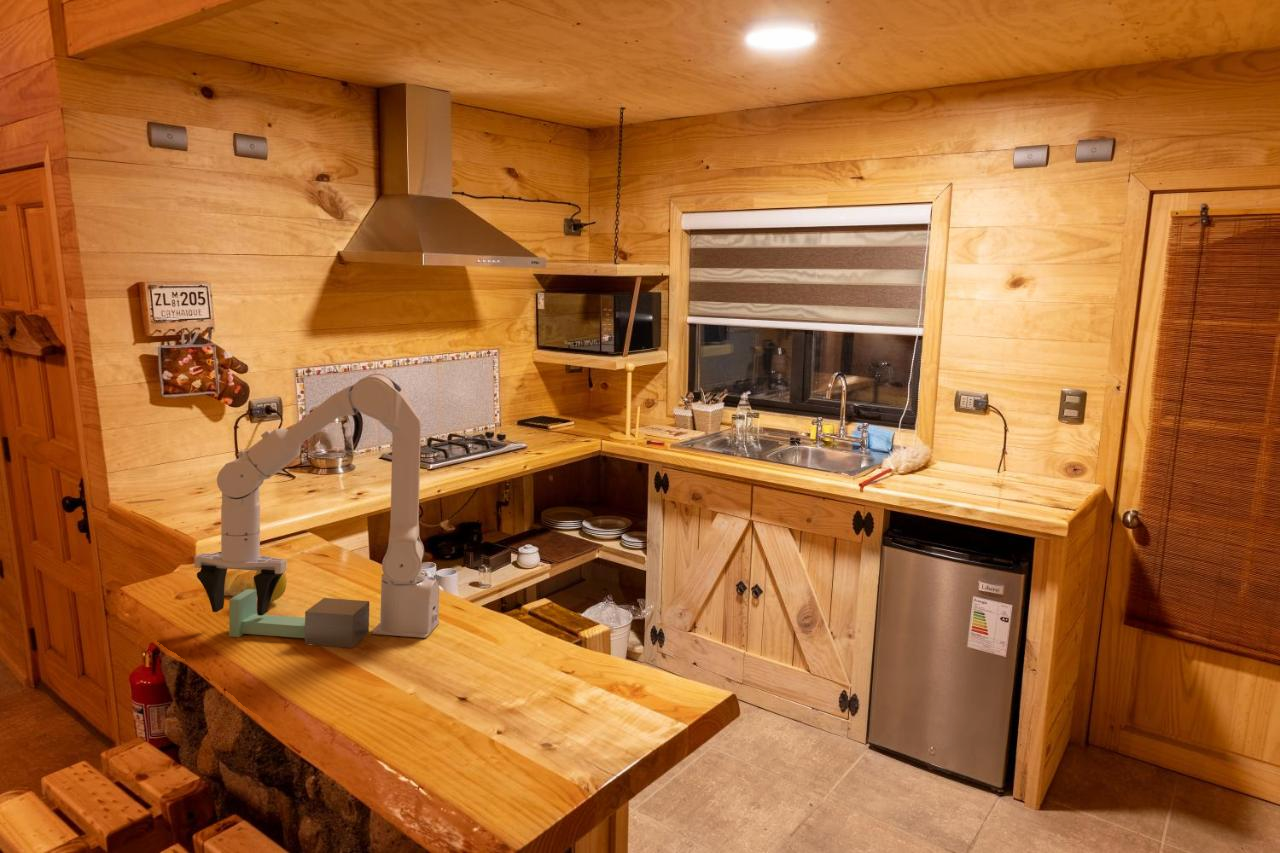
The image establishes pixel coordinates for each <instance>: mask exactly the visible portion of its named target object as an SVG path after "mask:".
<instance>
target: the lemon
mask: <svg viewBox="0 0 1280 853" xmlns="http://www.w3.org/2000/svg"><path fill="white" fill-rule="evenodd" d="M259 573H261V571H256V573H255V576H256V575H258V574H259ZM253 587H254V590H256V586H255V582H254V581H253ZM286 589H287V575H286V571H285V572H283V574H282V576H281V577H280V579H279V581H278V583H277V585H276V587H275V589H274V592H273V594H272V597H271V600H270V604H269V605H272V604H273V603H274V602H275V601H277V600H279V599H281V597H282V596H283V595H284V593H285V591H286Z"/></svg>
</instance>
